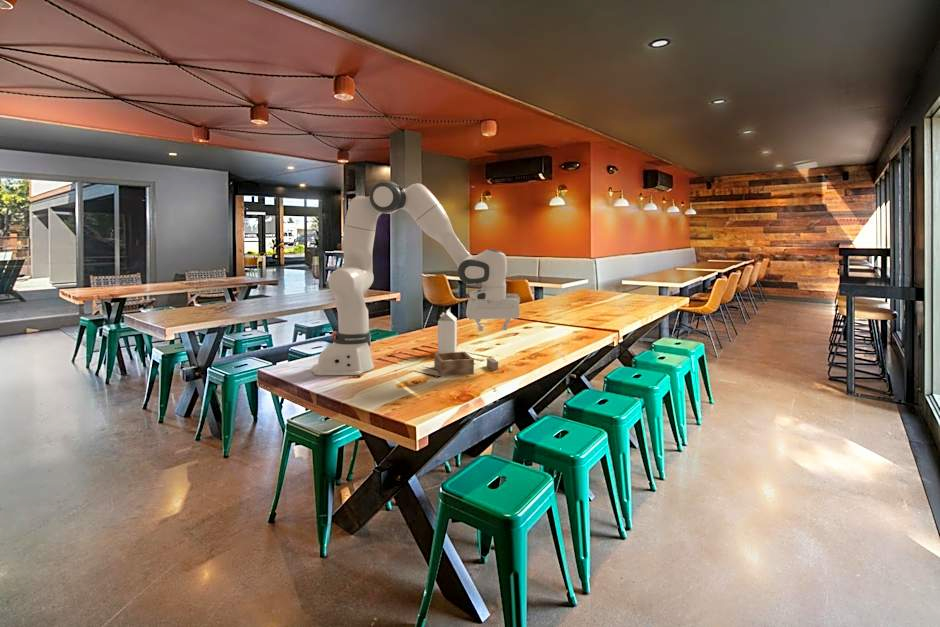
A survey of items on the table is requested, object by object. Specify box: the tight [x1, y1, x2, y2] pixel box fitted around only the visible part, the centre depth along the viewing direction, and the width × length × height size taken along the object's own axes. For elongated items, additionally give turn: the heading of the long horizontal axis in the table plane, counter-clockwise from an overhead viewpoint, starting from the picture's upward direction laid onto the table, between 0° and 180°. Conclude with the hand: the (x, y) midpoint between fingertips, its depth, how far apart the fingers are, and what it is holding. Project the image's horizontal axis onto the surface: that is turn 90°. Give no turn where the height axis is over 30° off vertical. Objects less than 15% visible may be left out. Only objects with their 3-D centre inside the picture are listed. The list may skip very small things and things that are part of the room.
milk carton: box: [437, 308, 458, 353], centre depth 206 cm, size 7×7×19 cm
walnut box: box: [433, 351, 475, 377], centre depth 182 cm, size 12×12×6 cm
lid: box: [486, 357, 499, 371], centre depth 185 cm, size 13×13×4 cm
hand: (492, 330), depth 183 cm, fingers open, 8 cm apart
